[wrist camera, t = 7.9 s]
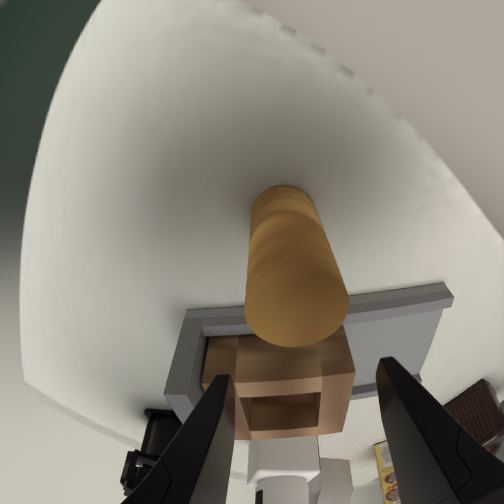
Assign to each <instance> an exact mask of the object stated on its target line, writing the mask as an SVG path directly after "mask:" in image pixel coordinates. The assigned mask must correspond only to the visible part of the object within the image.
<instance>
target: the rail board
mask: <svg viewBox="0 0 504 504" xmlns="http://www.w3.org/2000/svg"><path fill="white" fill-rule="evenodd" d="M348 297H349V310H348V313H347V316H346V318H345V320H344V322H343V323H342V325H344V329H345V333H346V336H347V340H348V344H349V347H350V351H351V355H352V359H353V363H354V367H355V371H356V374H355V379H354V383H353V388H352V393H351V397H350V400H356V399H362V398H368V397H373V396H378V391H377V385H376V370H377V367H378V363H379V360H380V358H382V357H387V356H393V357H394V358H395V359H396V360H397V361H398V362H399V363H400V364H401V365H402V366H403V367H404V368H405V369H406V370H407V371H408V372H409V373H410V374H411V375H412V376H413V377H414V378H415V379H416V380H417V381H418V382H419V383H420V384H421V382H422V380H421V377H420V374H419V373H420V370H421V368H422V366H423V363H424V361H425V358H426V356H427V353H428V351H429V348H430V346H431V343H432V340H433V338H434V335H435V332H436V329H437V326H438V323H439V320H440V317H441V314H442V311H443V309H444V308H449V307H451V306H452V303H453V300H454V296H453V295H452V293H451V292H450V290H449V289H448V288H447V286H446V285H445V283H438V284H432V285H425V286H419V287H412V288H405V289H399V290H392V291H384V292H377V293H369V294H361V295H353V296H348ZM244 310H245V306H240V307H225V308H209V309H191V310H187V311H186V315H185V318H184V322H183V325H182V328H181V332H180V335H179V339H178V342H177V346H176V350H175V353H174V357H173V360H172V364H171V368H170V372H169V375H168V379H167V383H166V387H165V390H164V396H165V397H166V399H167V401H168V402H169V404H170V405H171V407H172V409H173V410H174V412H175V413H176V415H177V416H178V418H179V419H180V421H181V422H182V424H183V423H184V422H185V420H186V419H187V417H188V416H189V414H190V413H191V411H192V410H193V409H194V407H195V406H196V404H197V403H198V401H199V400H200V398H201V397H202V395H203V394H204V392H205V390H204V388H203V386H202V378H203V372H204V367H205V361H206V356H207V350H208V344H209V339H210V336H222V335H240V334H255V333H254V332H253V331H252V330H251V329H250V327H249V326H248V323H247V321H246V318H245V312H244Z"/></svg>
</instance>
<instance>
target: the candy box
mask: <svg viewBox="0 0 504 504" xmlns="http://www.w3.org/2000/svg"><path fill="white" fill-rule="evenodd" d="M374 451H375V456H376V462H377V468H378V474H379V480H380V486H381V491H382V497H383V503H384V504H401V501H400V496H399V491H398V486H397V482H396V477H395V472H394V468H393V464H392V459H391V455H390V451H389V447H388V443H387V441H386V442H383V443H379V444H376V445H374Z"/></svg>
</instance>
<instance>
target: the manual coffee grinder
mask: <svg viewBox="0 0 504 504" xmlns="http://www.w3.org/2000/svg"><path fill="white" fill-rule="evenodd" d="M443 407H444V408H445V409H446V410H447V411H448V412H449V413H450V414H451V415H452V416H453V417H454V418H455V419H456V420H457V421H458V422H459V423H460V426H461V425H462V426H463V427H464V428H465V429H466V431H467V432H468V433H469V434H470V435H471V436H473V437H474V438H475V439H476V440H477V441H478V442H479V443H480V444H481V445H482V446H483V447H485V448H486V449H487V450H488V451H489V452H491V453H492V454H493V455H494V456H496V455H497V454H498V452H499V451H500V449H501V447H502V446H503V445H504V413H503V411H502V408H501V406H500V404H499V401H498V399H497V396H496V394H495V391H494V389H493V388H492V387H491V385H490V384H489V383H488V382H487V381H485V380H483V379H481V380H480V381H478V382H477V383H475V384H474V385H472V386H471V387H469V388H468V389H467V390H465V391H464V392H462V393H461V394H460V395H458V396H457V397H455V398H454V399H452V400H451V401H449V402H448V403H446V404H445V405H444V406H443Z"/></svg>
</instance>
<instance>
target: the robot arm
mask: <svg viewBox="0 0 504 504" xmlns="http://www.w3.org/2000/svg"><path fill="white" fill-rule="evenodd" d="M376 385H377V391H378V397H379V404H380V411H381V418H382V423H383V427H384V431H385V435H386V439H387V443H388V447H389V451H390V455H391V459H392V464H393V468H394V472H395V477H396V482H397V486H398V491H399V496H400V501H401V504H504V463H503V462H502V461H500V460H499V459H498V458H497V457H496V456H494V455H493V454H492V453H491V452H489V451H488V450H487V449H486V448H485V447H483V446H482V445H481V444H480V443H479V442H478V441H477V440H476V439H475V438H474V437H473V436H471V435H470V434H469V433H468V432H467V431H466V429H465V428H464V427H463V426H462V425H461V426H460V423H459V422H458V421H457V420H456V419H455V418H454V417H453V416H452V415H451V414H450V413H449V412H448V411H447V410H446V409H445V408H444V407H443V406H442V405H441V404H440V403H439V402H438V401H437V400H436V399H435V398H434V397H433V396H432V395H431V394H430V393H429V392H428V391H427V390H426V389H425V388H424V387H423V386H422V385H421V384H420V383H419V382H418V381H417V380H416V379H415V378H414V377H413V376H412V375H411V374H410V373H409V372H408V371H407V370H406V369H405V368H404V367H403V366H402V365H401V364H400V363H399V362H398V361H397V360H396V359H395V358H394V357H393V356H387V357H382V358H380V360H379V363H378V367H377V370H376ZM144 415H145V416H146V417H147V418H148V423H147V427H146V431H145V435H144V439H143V443H142V447H141V451H139V450H137V449H135V451H134V452H133V451H128V453H127V457H126V461H125V465H124V468H123V472H122V476H121V480H120V483H121V484H122V485H123V487H124V488H123V490H125V492H124V495H125V496H128V497H127V498H126V499H125V500H124V501H123V502H122V503H121V504H225V503H226V497H227V489H228V482H229V475H230V468H231V461H232V454H233V447H234V439H235V388H234V384H233V381H232V378H231V375H230V374H229V373H218V374H216V375H215V377H214V378H213V380H212V381H211V383H210V384H209V386H208V387H207V389H206V391H205V392H204V394H203V395H202V397H201V398H200V400H199V401H198V403H197V404H196V406H195V407H194V409H193V410H192V411H191V413H190V414H189V416H188V417H187V419H186V420H185V422H184V423H183V424H182V422H181V421H180V419H179V418H178V416H177V415H176V413H175V412H172V411H158V410H147V409H145V410H144ZM136 465H140V466H142V467H136Z"/></svg>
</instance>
